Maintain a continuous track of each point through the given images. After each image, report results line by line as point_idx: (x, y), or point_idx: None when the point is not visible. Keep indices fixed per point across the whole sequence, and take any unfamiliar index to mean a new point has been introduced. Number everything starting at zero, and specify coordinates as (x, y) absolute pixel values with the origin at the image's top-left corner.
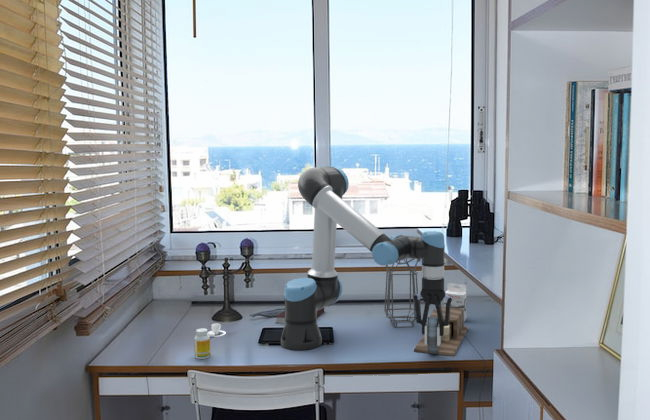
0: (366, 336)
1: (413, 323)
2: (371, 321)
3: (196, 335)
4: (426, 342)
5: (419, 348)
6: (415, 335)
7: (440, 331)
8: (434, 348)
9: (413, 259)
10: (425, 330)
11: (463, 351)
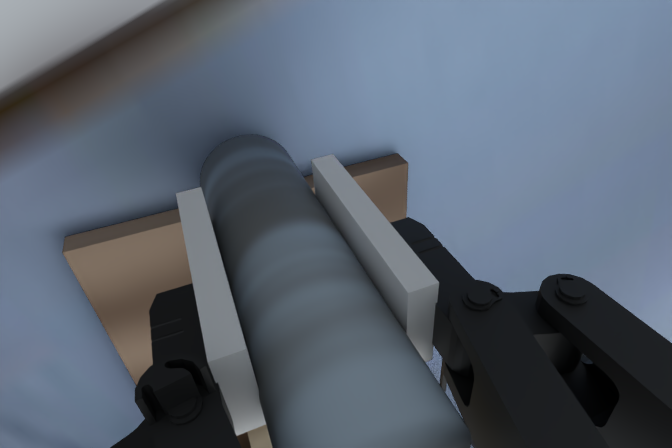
0: (658, 220)
1: (472, 441)
2: None
3: None
4: (322, 169)
5: (372, 192)
6: (439, 365)
7: (191, 330)
8: (226, 170)
9: None
10: (395, 245)
11: (65, 353)
